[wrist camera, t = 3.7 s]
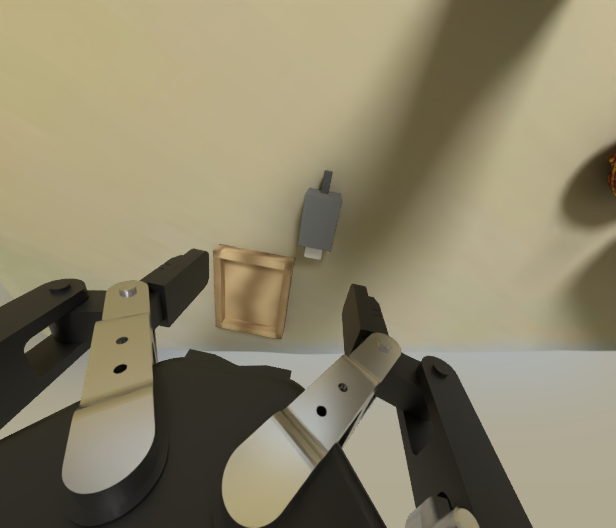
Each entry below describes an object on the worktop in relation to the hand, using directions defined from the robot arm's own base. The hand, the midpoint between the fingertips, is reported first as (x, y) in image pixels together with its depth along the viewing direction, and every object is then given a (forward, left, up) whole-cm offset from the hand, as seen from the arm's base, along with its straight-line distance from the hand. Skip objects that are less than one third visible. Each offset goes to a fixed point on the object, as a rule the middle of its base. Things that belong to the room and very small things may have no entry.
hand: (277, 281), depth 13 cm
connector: (-2, +1, -19) cm, 19 cm away
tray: (+6, +15, -19) cm, 25 cm away
